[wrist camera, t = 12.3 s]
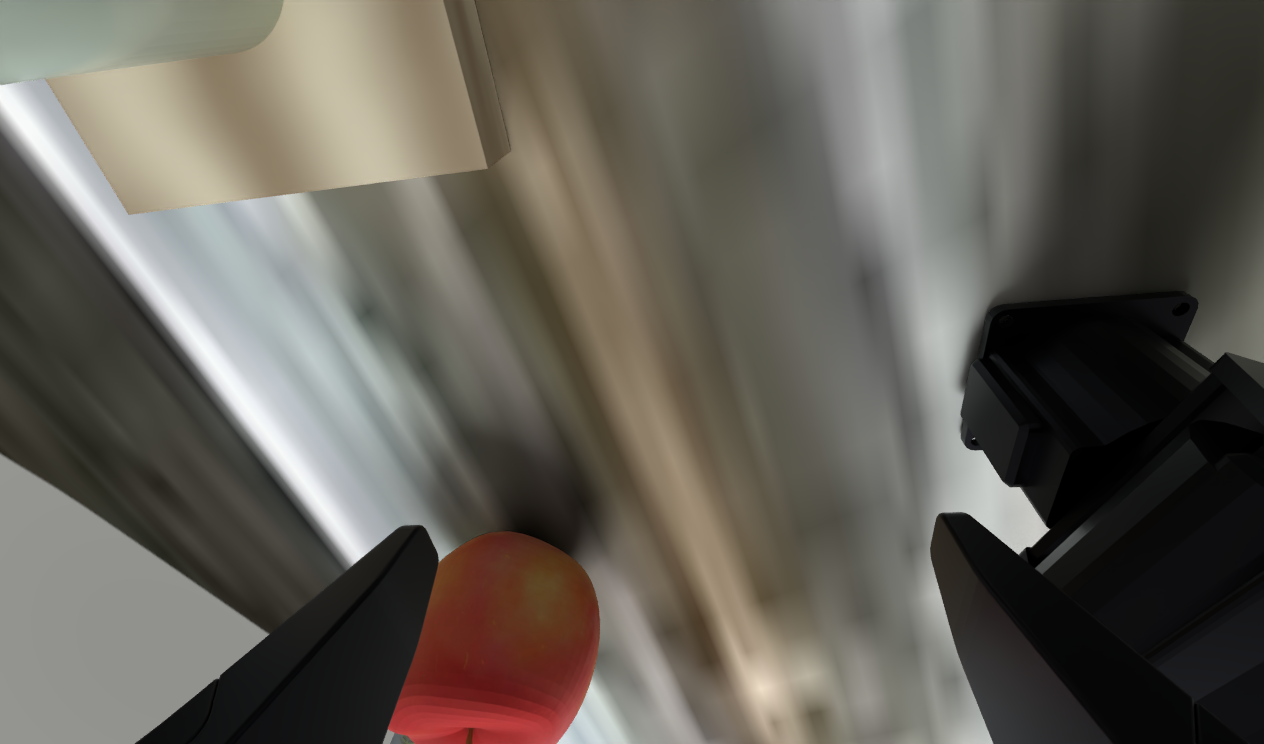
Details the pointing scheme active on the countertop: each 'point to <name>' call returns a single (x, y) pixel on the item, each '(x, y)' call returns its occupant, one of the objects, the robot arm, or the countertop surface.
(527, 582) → the apple
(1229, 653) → the robot arm
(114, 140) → the birch pad
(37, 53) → the sage bottle
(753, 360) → the countertop surface
